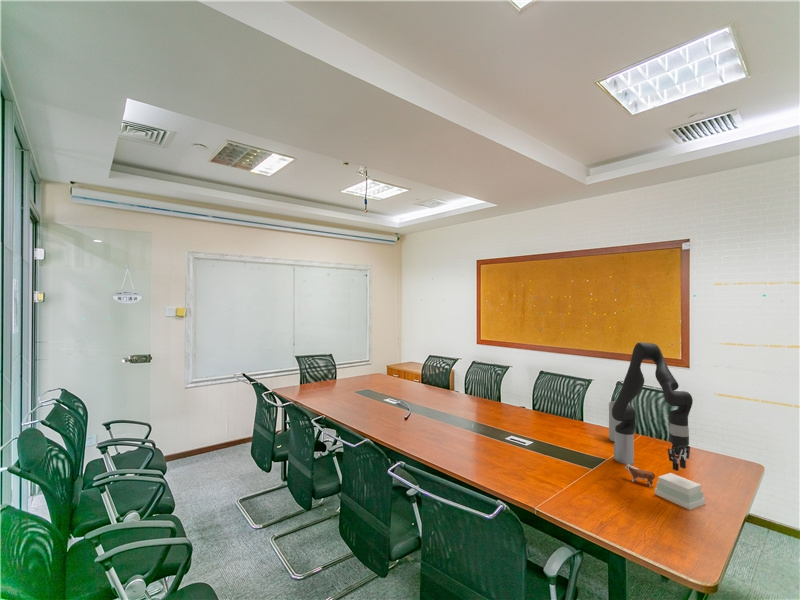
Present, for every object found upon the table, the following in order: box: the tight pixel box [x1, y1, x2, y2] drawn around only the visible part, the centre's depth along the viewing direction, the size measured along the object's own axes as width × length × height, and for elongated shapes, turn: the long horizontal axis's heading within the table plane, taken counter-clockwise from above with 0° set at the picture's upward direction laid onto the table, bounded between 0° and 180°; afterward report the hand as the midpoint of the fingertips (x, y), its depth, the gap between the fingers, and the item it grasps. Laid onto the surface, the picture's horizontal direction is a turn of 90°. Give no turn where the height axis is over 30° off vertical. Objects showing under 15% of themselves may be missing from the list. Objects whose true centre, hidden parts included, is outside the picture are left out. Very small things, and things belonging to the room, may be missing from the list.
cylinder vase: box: [608, 400, 631, 443], centre depth 245 cm, size 12×12×25 cm
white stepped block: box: [654, 472, 706, 511], centre depth 171 cm, size 15×12×9 cm
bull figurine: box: [624, 464, 656, 488], centre depth 187 cm, size 4×13×8 cm, turn 43°
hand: (679, 468), depth 171 cm, fingers open, 5 cm apart
